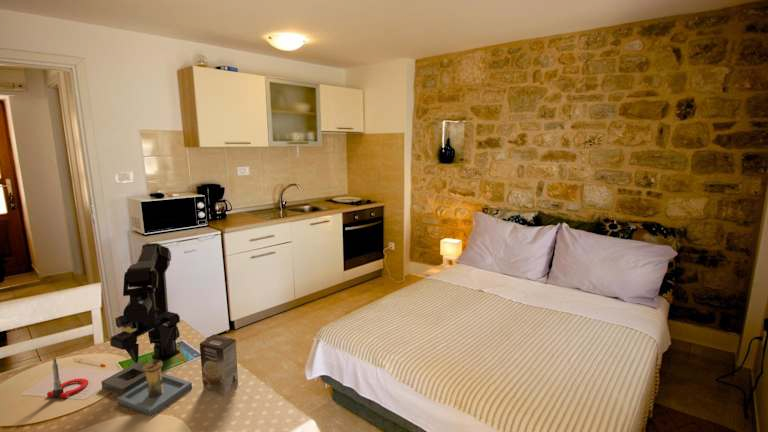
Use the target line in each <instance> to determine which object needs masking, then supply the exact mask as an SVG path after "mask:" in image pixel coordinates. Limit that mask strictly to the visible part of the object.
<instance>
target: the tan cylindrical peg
mask: <svg viewBox="0 0 768 432" xmlns="http://www.w3.org/2000/svg"><path fill="white" fill-rule="evenodd" d="M143 364H144V365H143V371H144V372H146V380H147V388H148V396H149V397H150V398H155V397H158V396H160V395H162V394H163V383H162V374H161V373H162V367H163V365H164V364H163V360H162V359H154V360H153V359H152V360H149V361H148V362H146V363H143Z"/></svg>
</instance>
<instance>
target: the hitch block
mask: <svg viewBox="0 0 768 432" xmlns="http://www.w3.org/2000/svg"><path fill="white" fill-rule="evenodd" d="M144 364H145V363H143V362H140V361H138V363H135V362H134V363H133V364H131V365H129V366H127V367H126V368H124V369H122V370H120V371H118V372H116V373H115V374H113V375H111V376H109V377H107V378H105V379H103V380H101V389H102V390H105V391H108V392H111V393H113V394H116V395H118V396H122V395H124V394H125V393H127V392H129V391H130V390H132V389H134V388H135V387H137V386H139V385H140V384H142V383H144V382H145V381H147V380H146V372H144V371H143V365H144ZM131 376H132V377H133V376H135V377H133V378H132V379H131ZM129 378H130V380H128V379H129Z"/></svg>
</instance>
